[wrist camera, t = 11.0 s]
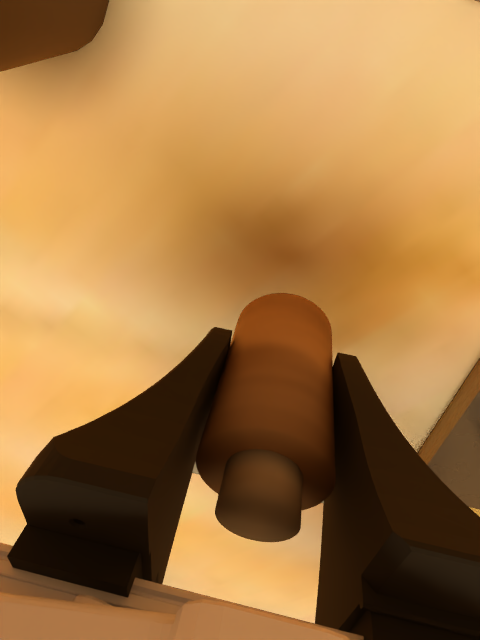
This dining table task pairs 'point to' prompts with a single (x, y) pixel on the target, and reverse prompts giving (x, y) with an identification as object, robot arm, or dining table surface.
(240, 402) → the orange bottle
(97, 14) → the coffee cup
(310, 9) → the dining table surface
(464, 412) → the chuck base
